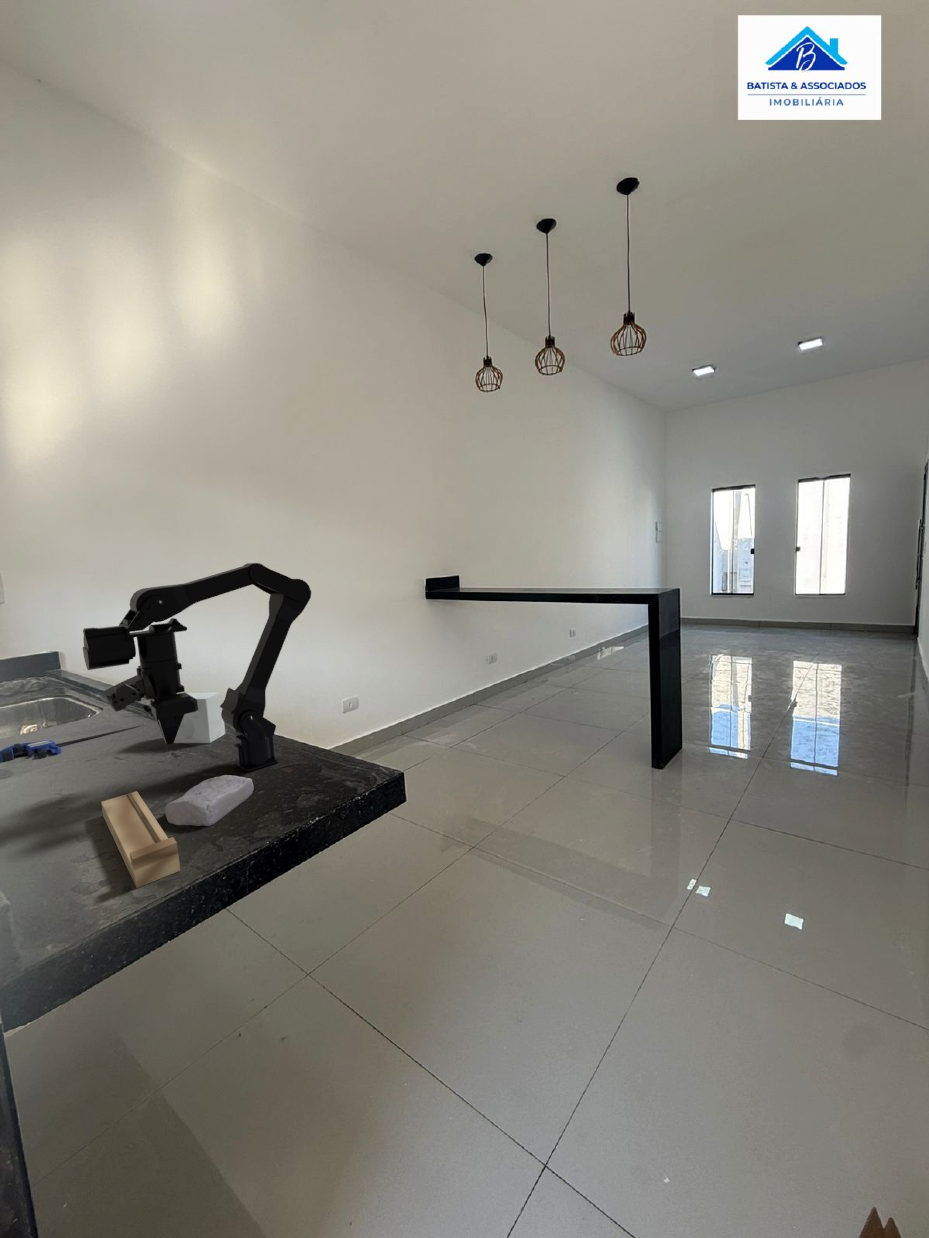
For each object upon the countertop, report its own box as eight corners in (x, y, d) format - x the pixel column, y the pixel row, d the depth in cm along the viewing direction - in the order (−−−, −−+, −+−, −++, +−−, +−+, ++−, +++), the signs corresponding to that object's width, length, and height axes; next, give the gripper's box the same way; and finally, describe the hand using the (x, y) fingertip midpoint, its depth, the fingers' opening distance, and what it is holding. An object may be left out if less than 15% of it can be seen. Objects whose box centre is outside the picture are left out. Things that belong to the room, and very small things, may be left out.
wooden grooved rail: (138, 804, 86) (135, 782, 86) (180, 870, 67) (176, 842, 67) (103, 815, 83) (99, 793, 82) (136, 888, 64) (132, 859, 63)
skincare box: (226, 733, 120) (222, 691, 119) (210, 743, 114) (205, 699, 113) (186, 733, 122) (181, 691, 120) (167, 743, 115) (162, 699, 114)
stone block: (161, 835, 80) (213, 828, 78) (153, 806, 80) (205, 798, 77) (213, 801, 91) (260, 794, 89) (206, 776, 91) (253, 768, 89)
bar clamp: (3, 758, 104) (-6, 748, 110) (4, 769, 104) (-4, 758, 111) (172, 720, 129) (157, 714, 135) (172, 730, 129) (158, 722, 135)
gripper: (95, 660, 90) (107, 743, 92) (113, 676, 76) (127, 773, 78) (165, 650, 97) (175, 727, 99) (193, 663, 84) (204, 752, 86)
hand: (169, 743), depth 91 cm, fingers closed
